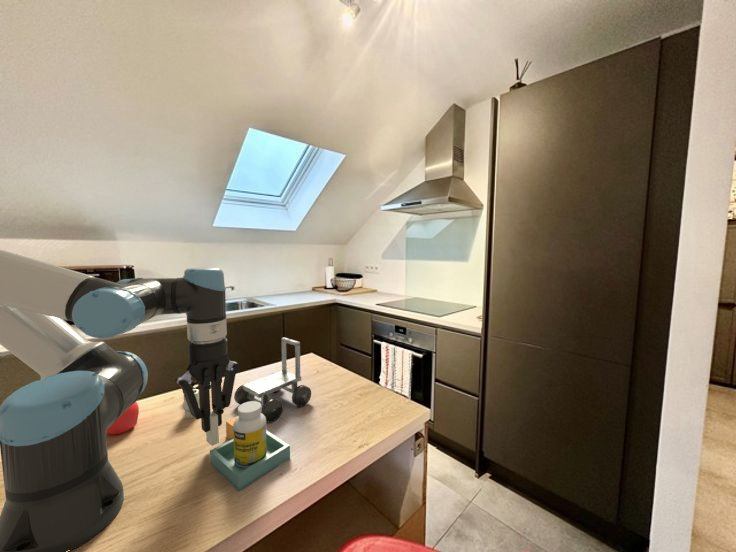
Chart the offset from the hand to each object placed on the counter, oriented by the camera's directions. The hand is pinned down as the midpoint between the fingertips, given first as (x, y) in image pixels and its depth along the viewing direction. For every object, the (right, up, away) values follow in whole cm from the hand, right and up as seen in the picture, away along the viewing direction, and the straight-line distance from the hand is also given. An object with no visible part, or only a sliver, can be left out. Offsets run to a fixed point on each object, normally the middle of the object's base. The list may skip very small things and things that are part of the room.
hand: (212, 441), depth 68 cm
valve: (-14, -1, +18) cm, 23 cm away
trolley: (+7, 0, +20) cm, 22 cm away
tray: (+10, -2, -3) cm, 10 cm away
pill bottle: (+10, -2, -3) cm, 11 cm away
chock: (+4, -2, +5) cm, 7 cm away
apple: (-27, -1, +8) cm, 28 cm away
